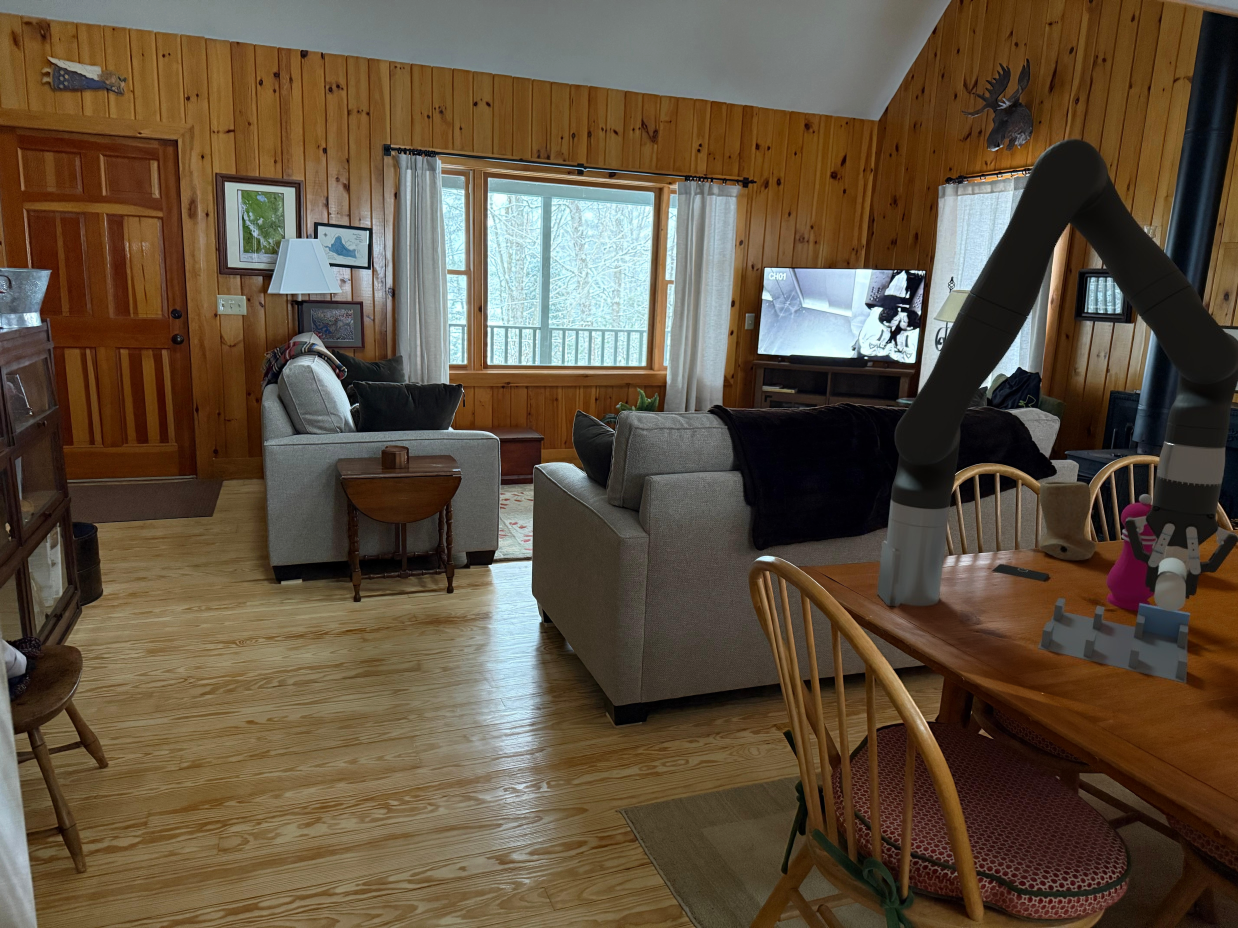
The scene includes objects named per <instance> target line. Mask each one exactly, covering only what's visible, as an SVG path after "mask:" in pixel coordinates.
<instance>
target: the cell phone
mask: <svg viewBox="0 0 1238 928" xmlns="http://www.w3.org/2000/svg"><path fill="white" fill-rule="evenodd" d="M991 572H992V573H998V574H1003V575H1009V576H1012V577H1018V578H1023V579H1027V580H1033V581H1039V582H1043V583H1045V582H1046V581H1047V580H1049V578H1050V574H1049V573H1046V572H1044V571H1043V572H1042V571H1038V570H1033V569H1027V568H1022V567H1019V566H1014V565H1013V566H1012V565H1008V564H1005V563H999V564H998V565H997V566H996V567H994V568H993V569H992V570H991Z"/></svg>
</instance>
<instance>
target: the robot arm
mask: <svg viewBox="0 0 1238 928" xmlns="http://www.w3.org/2000/svg"><path fill="white" fill-rule="evenodd" d="M1069 225H1071V226H1072V227H1073V228H1074V229H1075V230H1076V231H1077V232H1078V233H1079V234H1080V235H1081V236H1082V237H1083V238H1084V239H1085V241H1087V243H1088V244H1089V246H1090V247H1091V248H1092V249H1093V251H1094V252H1095V253H1096V254H1097V256H1098V257H1099V259H1100V260H1101V261H1102V263H1103V265H1104V267H1105V268H1106V270H1107V272H1108V274H1109V276H1111V277H1110V278H1111V279H1112V280H1113V281H1114V283H1115V285H1116V286H1117V288H1118V289H1119V291H1120V292H1121V293H1122V295H1123V296H1124V298H1125V299H1126V300H1127V302H1128V303H1129V305H1131V306H1132V308H1133V310H1134V311H1135V312H1136V314H1137V315H1138V316H1139V317H1140V319H1141V320H1142V321H1143V322H1144V323H1145V324H1146V326H1148V328H1149V329H1150V330H1151V331H1152V333H1153V334H1154V335H1155V338H1156V340H1157V341H1158V343H1159V345H1160V347H1161V348H1162V350H1163V351H1164V353H1165V354H1166V356H1167V358H1168V359H1169V361H1170V362H1171V364H1172V365H1173V367H1174V368H1175V369H1176V370H1177V372H1178V374H1179V376H1178V382H1177V388H1176V394H1175V395H1176V396H1175V400H1174V402H1173V403H1172V405H1171V406H1170V410H1169V414H1168V417H1167V423H1166V430H1165V435H1164V441H1163V445H1162V448H1161V452H1160V455H1159V460H1158V464H1157V468H1156V469H1157V471H1156V478H1155V483H1154V490H1153V497H1152V501H1151V505H1152V508H1151V510H1150V511H1149V512H1148V513H1147V515H1146V516H1144V517H1138V518H1133V517H1128V518H1127V519H1126V522H1125V526H1124V528H1125V527H1126V530H1127V533H1128V537H1129V540H1130V544H1131V547H1132V550H1133V554H1134V557H1135V559H1137V560H1140V561H1142V562H1144V563H1146V564H1147V573H1146V579H1145V586H1146V587H1149V588H1150V591H1149V592H1154V593H1155V587H1156V581H1157V577H1158V571H1159V565H1158V564H1159V561H1160V559H1161V557H1162V555H1163V553H1164V551H1165V549H1166V547H1167V546H1170V547H1173V546H1178V547H1181V548H1183V549H1188V554H1189V563H1190V568H1189V570H1187V575H1186V593H1185V600H1186V599H1187V600H1189V599H1190V596H1195V595H1196V594H1197V589H1198V584H1199V579H1200V576H1201V575H1202V574H1204V573H1205V574H1206V573H1210V574H1211V573H1212V574H1213V573H1216V572H1217V571H1218V569H1219V568H1220V567H1221V566H1222V564H1223V563H1224V561H1225V560H1226V559H1227V557H1228V556H1229V555H1230V554H1231V552H1232V551H1233V549H1234V548H1235V547H1236V545H1237V544H1238V534H1237V533H1236V532H1234V531H1229V530H1226V529H1225V528H1222V527H1221V526H1219V523H1218V520H1217V519H1216V518H1217V513H1218V512H1217V511H1218V506H1219V500H1220V499H1219V498H1220V495H1221V488H1222V483H1223V478H1224V474H1225V473H1224V472H1225V471H1224V470H1225V465H1226V446H1227V440H1228V435H1229V430H1230V422H1231V407H1232V404H1233V401H1234V397H1235V393H1236V389H1237V386H1238V339H1237V338H1236V337H1235V336H1234V335H1232V334H1231V333H1228V332H1226V331H1225V330H1224V329H1223V327H1221V325H1220V324H1219V323H1218V322H1217V321H1216V320H1215V318H1214V317H1213V316H1212V314H1211V313H1210V312H1209V311H1208V310H1207V308H1205V306H1204V304H1203V303H1202V298H1201V296H1200V294H1199V293H1198V292H1197V290H1196V288H1194V286H1193V285H1192V283H1191V282H1190V281H1189V279H1188V278H1187V277H1186V275H1184V274H1183V272H1182V270H1180V268H1179V267H1178V266H1177V265H1176V264H1175V262H1174V260H1172V259H1171V257H1170V256H1169V255H1168V254H1167V253H1166V252H1165V251H1164V250H1163V249H1162V248H1161V247H1160V246H1159V244H1157V243H1156V241H1155V240H1154V239H1153V238H1152V237H1151V236H1150V235H1149V234H1148V233H1147V231H1145V230H1144V229H1143V228H1142V227H1141V225H1140V224H1139V223H1138V221H1137V220H1136V219H1135V218H1134V217H1133V215H1132V214H1131V212H1130V211H1129V209H1128V208H1127V207H1126V205H1125V202H1124V201H1123V200H1122V198H1121V196H1120V195H1119V193H1118V190H1117V189H1116V187H1115V184H1114V182H1113V180H1112V178H1111V175H1110V174H1109V170H1108V166H1107V163H1106V161H1105V159H1104V158H1103V157H1102V155H1101V153H1100V152H1099V150H1097V149H1096V147H1095V146H1094V145H1092V144H1091V143H1089V142H1088V141H1086V140H1083V139H1080V138H1079V139H1078V138H1068V139H1063V140H1061V141H1059V142H1056V143H1055V144H1053V145H1050V146H1049V147H1048V148H1047V149H1046V150H1045V151H1043V152H1042V153H1041V154H1040V156H1039V157H1038V158H1037V160H1036V161H1035V163H1034V164H1033V166H1032V167H1031V170H1030V173H1029V175H1028V177H1027V180H1026V183H1025V184H1024V187H1023V189H1022V192H1021V195H1020V197H1019V199H1018V202H1017V204H1016V207H1015V208H1014V212H1013V214H1012V216H1011V218H1010V220H1009V223H1008V224H1007V226H1006V229H1005V231H1004V233H1003V234H1002V236H1001V237H1000V239H999V241H998V243H996V246H995V247H994V249H993V251H992V252H991V253H990V256H989V257H988V259H987V261H986V263H985V264H984V266H983V267H982V268H981V269H982V270H981V271H980V273H979V274H978V276H977V279H976V280H975V282H974V283H973V285H972V287H971V288H970V289H969V292H968V294H967V295H966V298H965V299H964V302H962V305H961V307H960V308H959V311H958V313H957V314H956V317H955V319H954V321H953V323H952V325H951V327H950V329H949V332H948V333H947V336H946V338H945V340H944V343H943V344H942V347H941V349H940V351H939V354H938V356H937V359H936V362H935V364H934V366H933V368H932V370H931V372H930V375H928V378H927V379H926V381H925V383H924V384H923V386H922V388H921V389H920V391H919V392H918V393H917V395H916V397H915V398H914V399H913V401H912V403H911V404H910V405H909V407H908V408H907V409H906V411H905V412H904V414H903V415H902V416H901V418H900V420H898V422H897V425H896V427H895V430H894V444H895V447H896V450H897V452H898V454H899V455H898V463H897V470H896V473H895V477H894V480H893V483H892V487H891V494H890V495H891V496H890V503H889V505H890V506H889V515H888V525H887V535H886V540H883V541H882V542H881V553H880V554H881V555H880V562H879V572H878V581H877V589H876V590H877V593H876V594H877V595H878V596H879V597H880V599H882V600H883V602H884V603H885V604H886V605H887V606H888V607H898V606H900V605H901V604H902V605H908V606H913V607H914V606H915V607H916V606H917V607H926V606H927V607H928V606H934V605H936V604H938V602H940V596H941V584H942V575H943V568H944V558H945V551H946V550H945V549H946V541H947V533H948V525H949V516H950V508H951V507H950V506H951V501H952V494H953V490H954V485H955V480H956V474H957V467H958V466H957V465H958V460H959V451H960V443H961V424H962V422H963V420H964V417H965V416H966V413H967V412H968V410H969V406H970V405H971V403H972V401H973V400H974V397H975V396H976V394H977V392H978V391H979V389H980V388H981V387H982V385H983V384H984V383H985V382H986V380H987V379H988V378H989V377H990V375H991V374H992V373H993V372H994V370H995V369H996V368H997V367H998V366H999V364H1000V363H1001V361H1002V360H1003V359H1004V357H1005V355H1006V354H1007V353H1008V351H1009V350H1010V348H1011V347H1012V345H1013V343H1014V342H1015V340H1016V339H1017V337H1018V335H1019V333H1020V332H1021V330H1022V328H1023V327H1024V325H1025V323H1026V321H1027V320H1028V318H1029V316H1030V315H1031V313H1032V310H1033V309H1034V306H1035V304H1036V302H1037V299H1038V297H1039V294H1040V292H1041V288H1042V285H1043V283H1044V279H1045V276H1046V272H1047V269H1048V267H1049V264H1050V260H1051V257H1052V254H1053V252H1054V251H1055V248H1056V246H1057V244H1058V242H1059V240H1060V238H1061V237H1062V235H1063V233H1064V232H1065V230H1066V229H1067V227H1068V226H1069ZM1145 524H1148V525H1149V527H1150V529H1151V530H1152V532H1153V533H1154V535H1155V536H1156V538H1157V541H1156V543H1155V545H1154V548H1153V550H1152V552H1151V554H1150V553H1148V552H1146V551H1144V547H1143V544H1142V540H1141V537H1140V534H1139V533H1141V532H1142V531H1143V529H1144V525H1145ZM1214 535H1216V536H1217V537H1216V544H1217V545H1218V546H1217V548H1216V549H1215V550H1214V552H1213V553H1212V554H1211V556H1209V558H1208V560H1206V561H1201V557H1200V546H1201V545H1202V544H1203V543H1205V542H1206V541H1207V540H1208V539H1210V538H1212V536H1214Z"/></svg>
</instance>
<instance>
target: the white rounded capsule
mask: <svg viewBox="0 0 1238 928" xmlns="http://www.w3.org/2000/svg"><path fill="white" fill-rule="evenodd" d="M1185 593H1186V567H1185V565H1184V563H1183V562H1182V561H1180V560H1179V559H1176V558H1166V559H1164V560H1162V561H1161V562H1160V564H1159V571H1158V577H1157V581H1156V587H1155V594H1154V595H1153V599H1154V602H1155V604H1156V606H1157V607H1160V608H1162V609H1163V610H1166V611H1176V610H1177V611H1180V609H1182V608H1183V607H1184V605H1185V603H1186V598H1185Z"/></svg>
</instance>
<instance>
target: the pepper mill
mask: <svg viewBox="0 0 1238 928" xmlns="http://www.w3.org/2000/svg"><path fill="white" fill-rule="evenodd" d="M1138 501H1139V502H1134V503H1130V504H1128V505H1127V506H1125V508H1124V509H1123V511H1122V512H1121V515H1120V521H1121V523H1122V524H1123V527H1124V528H1123V529H1122V535H1121V538H1122V539H1123V547H1122V550H1121V554H1120V556H1119V557H1118V559H1117V560H1116V562H1115V563H1114V565H1113V566H1112V567H1111V569H1110V571H1109V573H1108V574H1107V577H1106V586H1107V588H1108V589H1109V591H1110V593H1108V594H1107V598H1106V602H1107V603H1109V604H1110V605H1112V606H1115V607H1118V608H1121V609H1125V610H1129V611H1138V610H1139V604H1140V603H1141V604H1147V605H1151V602H1150V601H1149V600H1148V599H1151V598H1152V597H1154V594H1155V593H1154V592H1149V591H1150V588H1149V587H1146V586H1145V579H1146V573H1147V564H1146V563H1144V562H1142V561H1140V560H1137V559H1135V557H1134V554H1133V550H1132V547H1131V544H1130V540H1129V537H1128V533H1127V530H1126V527H1125V522H1126V519H1127V518H1128V517H1133V518H1138V517H1144V516H1146V515H1147V513H1148V512H1149V511H1150V510H1151V508H1152V502H1153V497H1151V495H1150V494H1146V493H1144V494H1141V495H1139V498H1138ZM1139 534H1140V537H1141V540H1142V544H1143V547H1144V551H1146V552H1148V553H1150V554H1151V550H1152V547H1153V544H1155V543H1156V536H1155V535H1154V533H1153V532H1152V530H1151V529H1150V527H1149V525H1148V524H1145V525H1144V529H1143V531H1142V532H1141V533H1139Z"/></svg>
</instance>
